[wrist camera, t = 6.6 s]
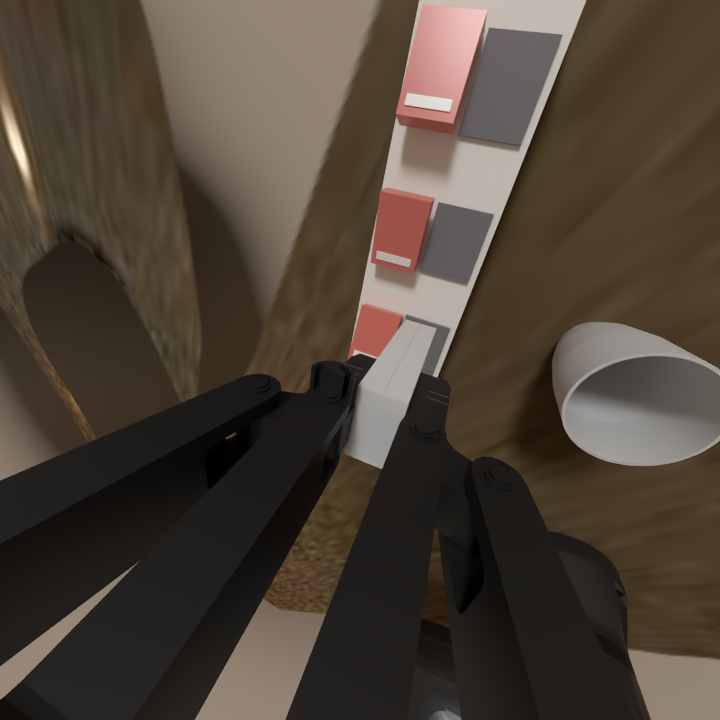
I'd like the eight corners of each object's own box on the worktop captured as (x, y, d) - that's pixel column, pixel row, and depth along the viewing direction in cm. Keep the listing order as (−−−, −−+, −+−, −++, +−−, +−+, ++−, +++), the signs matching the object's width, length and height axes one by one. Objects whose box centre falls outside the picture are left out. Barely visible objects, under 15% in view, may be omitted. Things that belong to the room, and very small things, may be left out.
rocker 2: (387, 367, 28) (383, 372, 26) (352, 355, 29) (347, 359, 27) (403, 315, 26) (400, 316, 25) (366, 303, 27) (361, 304, 26)
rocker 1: (417, 267, 24) (412, 274, 23) (376, 256, 25) (370, 263, 24) (435, 198, 21) (430, 202, 19) (386, 187, 21) (380, 191, 20)
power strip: (418, 418, 35) (412, 441, 32) (350, 392, 37) (337, 411, 34) (576, 13, 18) (600, -35, 15) (435, 2, 20) (426, -44, 16)
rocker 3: (453, 134, 19) (453, 122, 17) (399, 125, 19) (395, 113, 18) (484, 30, 17) (487, 8, 16) (424, 25, 18) (422, 3, 16)
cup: (571, 402, 29) (610, 482, 20) (517, 342, 28) (534, 399, 20) (671, 355, 24) (774, 432, 16) (610, 283, 24) (683, 323, 15)
